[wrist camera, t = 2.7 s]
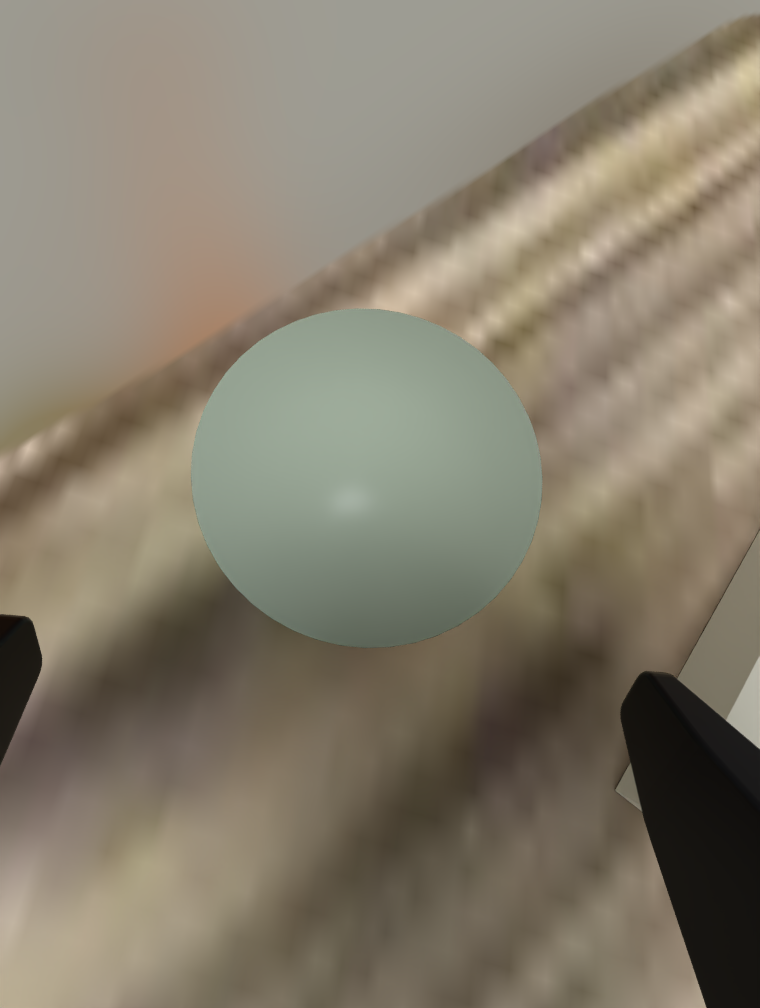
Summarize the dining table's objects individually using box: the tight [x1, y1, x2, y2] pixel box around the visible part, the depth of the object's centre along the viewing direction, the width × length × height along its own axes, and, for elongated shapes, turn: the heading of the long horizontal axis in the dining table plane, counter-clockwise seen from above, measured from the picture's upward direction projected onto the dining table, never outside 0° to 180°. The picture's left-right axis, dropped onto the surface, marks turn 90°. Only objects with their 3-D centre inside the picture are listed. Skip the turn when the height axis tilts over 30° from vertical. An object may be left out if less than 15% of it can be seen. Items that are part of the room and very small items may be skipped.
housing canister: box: [191, 309, 542, 648], centre depth 13 cm, size 5×5×11 cm
